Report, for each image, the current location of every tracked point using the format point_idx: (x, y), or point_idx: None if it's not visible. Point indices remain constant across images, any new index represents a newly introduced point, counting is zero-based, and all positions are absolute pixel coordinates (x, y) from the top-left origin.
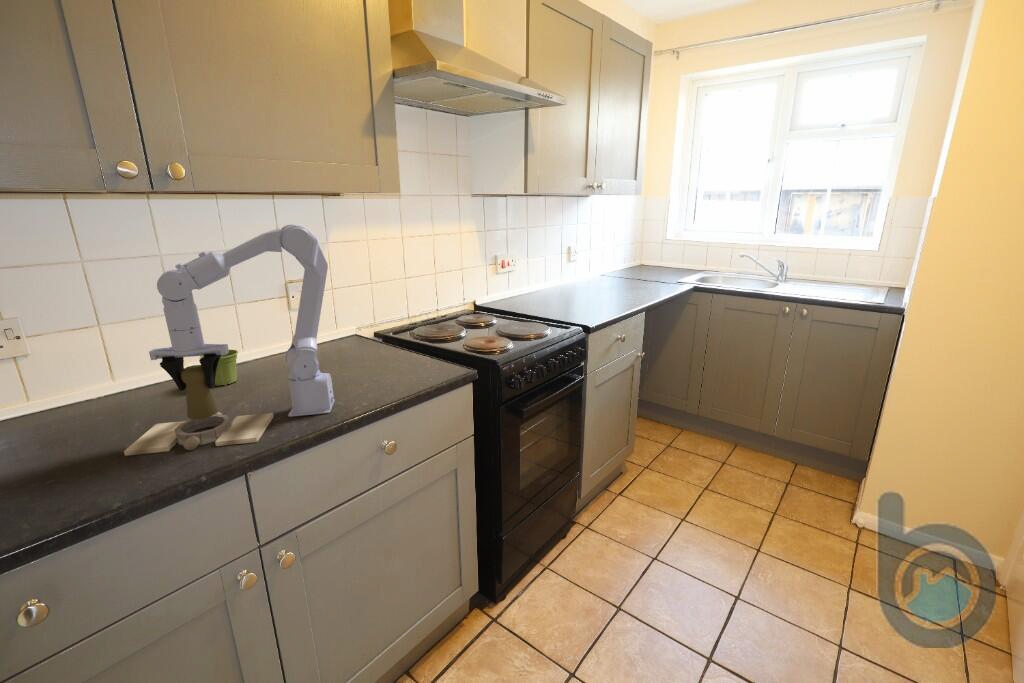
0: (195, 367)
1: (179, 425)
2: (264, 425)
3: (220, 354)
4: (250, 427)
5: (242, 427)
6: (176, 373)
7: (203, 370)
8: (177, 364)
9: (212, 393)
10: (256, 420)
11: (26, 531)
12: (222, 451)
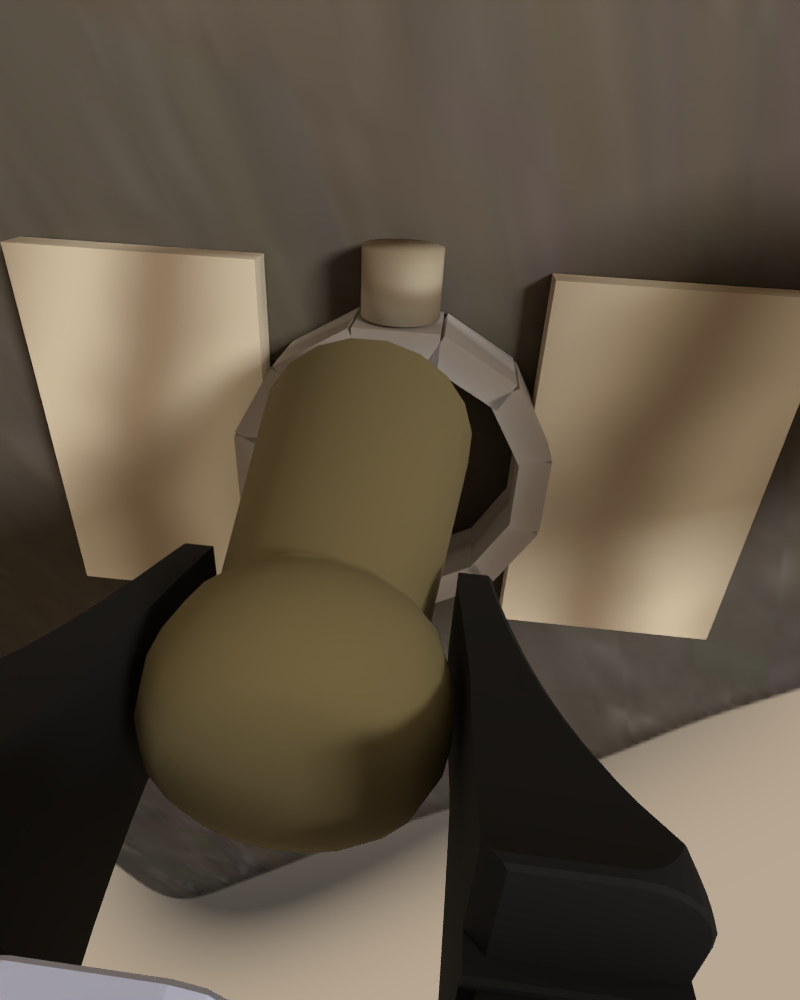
0: (311, 821)
1: (240, 453)
2: (756, 508)
3: (707, 945)
4: (669, 508)
5: (620, 495)
6: (131, 806)
7: (446, 880)
8: (62, 859)
9: (448, 516)
10: (706, 413)
11: (146, 864)
12: (541, 654)
